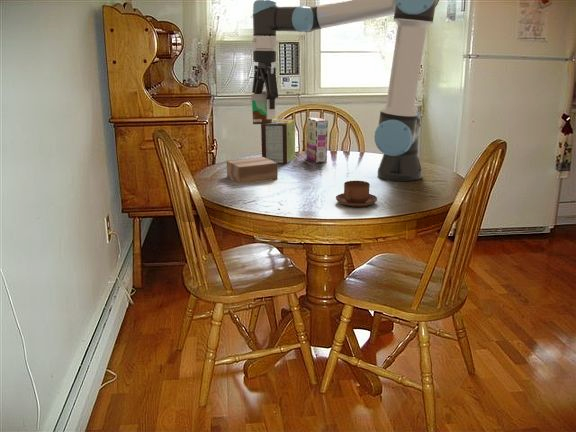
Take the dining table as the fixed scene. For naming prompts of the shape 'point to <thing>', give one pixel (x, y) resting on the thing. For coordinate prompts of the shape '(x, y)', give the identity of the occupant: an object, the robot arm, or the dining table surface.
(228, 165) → the walnut block
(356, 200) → the cup and saucer
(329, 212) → the dining table surface
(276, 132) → the protein box
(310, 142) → the candy bar box
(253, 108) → the food container
